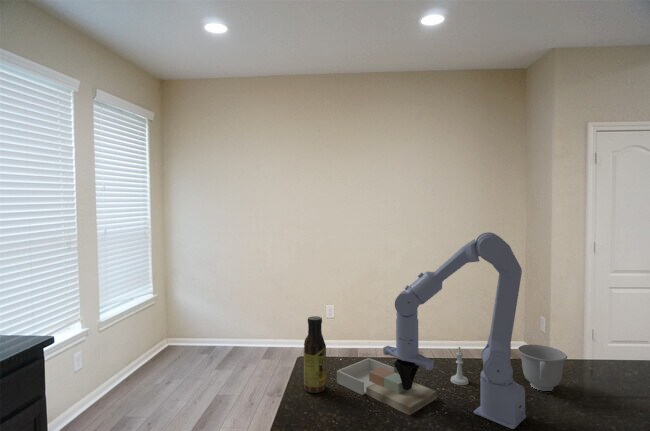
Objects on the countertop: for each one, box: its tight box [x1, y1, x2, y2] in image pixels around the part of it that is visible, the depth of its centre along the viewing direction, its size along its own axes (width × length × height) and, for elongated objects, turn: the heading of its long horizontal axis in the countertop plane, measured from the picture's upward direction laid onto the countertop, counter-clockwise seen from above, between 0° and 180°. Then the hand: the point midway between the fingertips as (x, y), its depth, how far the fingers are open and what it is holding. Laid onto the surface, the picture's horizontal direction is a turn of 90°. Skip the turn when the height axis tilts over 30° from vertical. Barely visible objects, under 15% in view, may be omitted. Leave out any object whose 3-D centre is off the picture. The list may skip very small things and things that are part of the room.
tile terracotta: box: [369, 367, 396, 387], centre depth 105 cm, size 5×5×2 cm
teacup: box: [517, 344, 568, 392], centre depth 103 cm, size 12×15×10 cm
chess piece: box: [450, 346, 469, 386], centre depth 109 cm, size 5×5×10 cm
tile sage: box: [383, 372, 405, 394], centre depth 101 cm, size 5×5×2 cm
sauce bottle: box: [303, 315, 327, 394], centre depth 104 cm, size 7×6×20 cm
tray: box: [336, 357, 395, 396], centre depth 109 cm, size 10×14×4 cm
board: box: [366, 381, 437, 416], centre depth 100 cm, size 14×12×2 cm
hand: (407, 388), depth 98 cm, fingers closed
